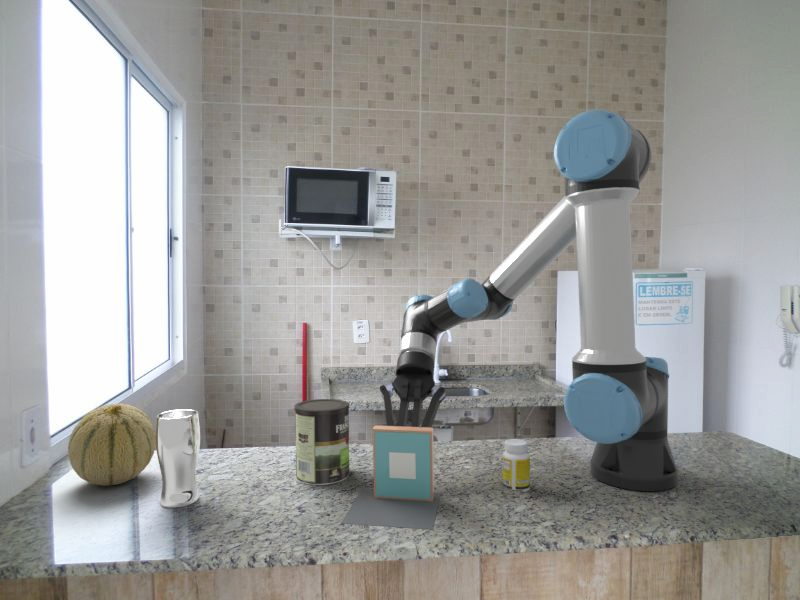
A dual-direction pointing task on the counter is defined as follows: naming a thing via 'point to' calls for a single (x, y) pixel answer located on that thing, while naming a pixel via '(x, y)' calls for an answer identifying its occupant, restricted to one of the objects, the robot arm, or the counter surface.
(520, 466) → the supplement bottle
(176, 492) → the beer glass
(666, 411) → the robot arm
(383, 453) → the tile
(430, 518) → the mat
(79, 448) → the cantaloupe
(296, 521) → the counter surface
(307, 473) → the coffee can
